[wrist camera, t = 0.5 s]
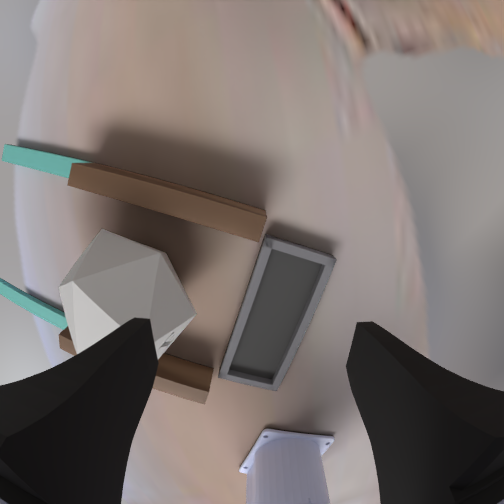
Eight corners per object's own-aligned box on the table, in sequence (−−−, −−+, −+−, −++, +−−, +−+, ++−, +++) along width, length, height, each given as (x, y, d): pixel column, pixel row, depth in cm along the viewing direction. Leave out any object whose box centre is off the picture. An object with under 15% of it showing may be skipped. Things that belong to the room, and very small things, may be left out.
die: (120, 332, 23) (160, 414, 16) (39, 280, 17) (37, 368, 10) (178, 261, 24) (243, 322, 17) (103, 194, 18) (132, 234, 11)
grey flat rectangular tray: (276, 383, 23) (276, 391, 22) (219, 370, 23) (218, 377, 22) (332, 255, 20) (336, 259, 19) (265, 233, 19) (265, 237, 18)
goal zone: (76, 331, 22) (72, 334, 21) (-16, 279, 21) (-19, 281, 20) (94, 162, 18) (90, 162, 18) (-9, 141, 17) (-13, 141, 17)
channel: (209, 380, 23) (204, 404, 20) (76, 331, 22) (59, 348, 19) (265, 210, 19) (266, 217, 16) (94, 162, 18) (71, 163, 15)
